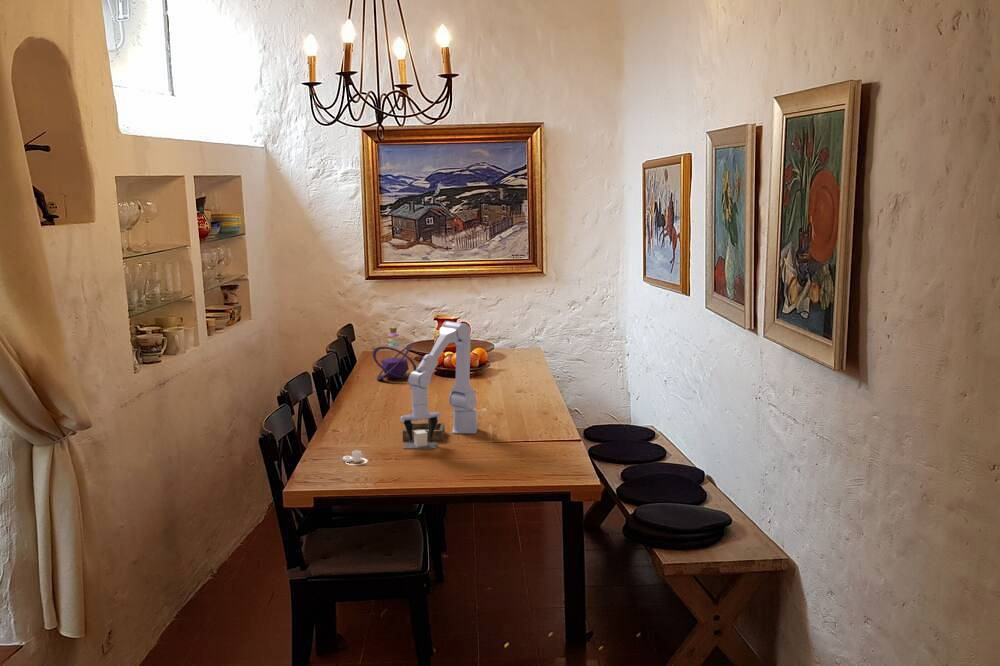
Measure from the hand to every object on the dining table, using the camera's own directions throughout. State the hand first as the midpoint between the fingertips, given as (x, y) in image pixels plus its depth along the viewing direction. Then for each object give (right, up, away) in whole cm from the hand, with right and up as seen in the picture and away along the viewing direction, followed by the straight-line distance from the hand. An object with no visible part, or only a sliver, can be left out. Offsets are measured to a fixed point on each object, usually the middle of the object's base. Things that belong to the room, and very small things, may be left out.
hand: (420, 438), depth 340 cm
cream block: (0, -2, +1) cm, 3 cm away
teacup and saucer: (-22, -6, -14) cm, 27 cm away
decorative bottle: (-22, +17, +107) cm, 110 cm away
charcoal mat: (0, -3, 0) cm, 3 cm away
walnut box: (0, -1, +11) cm, 11 cm away
